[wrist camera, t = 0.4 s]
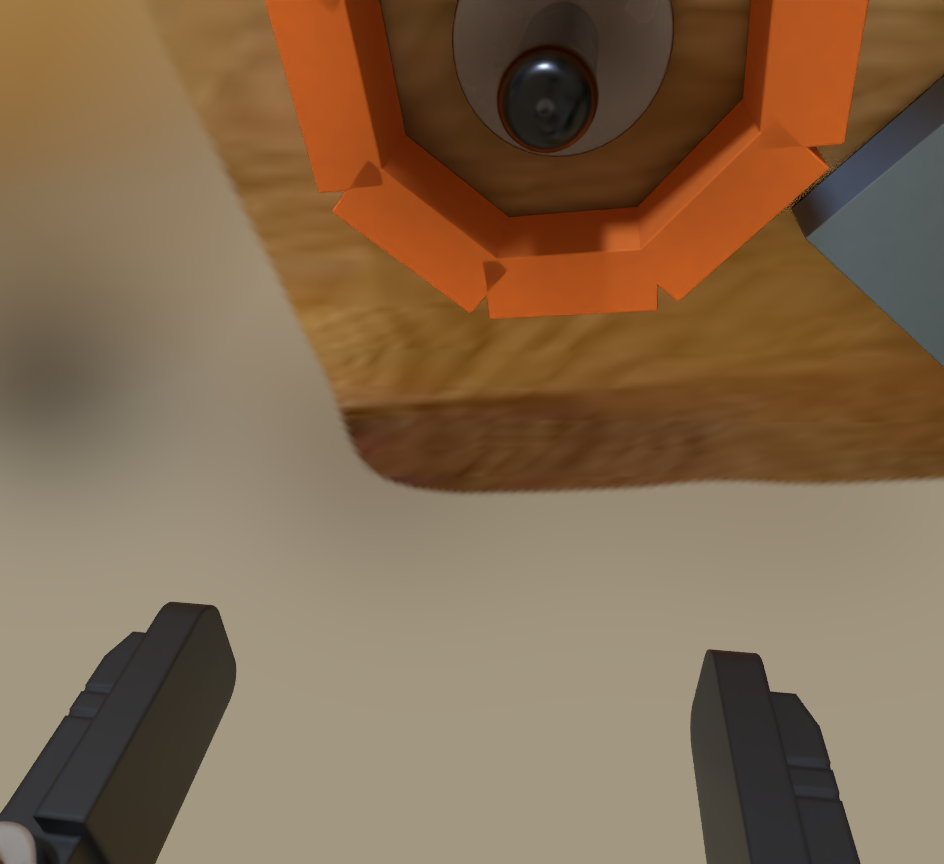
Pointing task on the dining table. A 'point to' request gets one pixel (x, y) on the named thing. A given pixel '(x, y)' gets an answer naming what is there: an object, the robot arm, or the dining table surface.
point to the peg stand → (561, 68)
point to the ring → (572, 233)
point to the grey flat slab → (890, 220)
